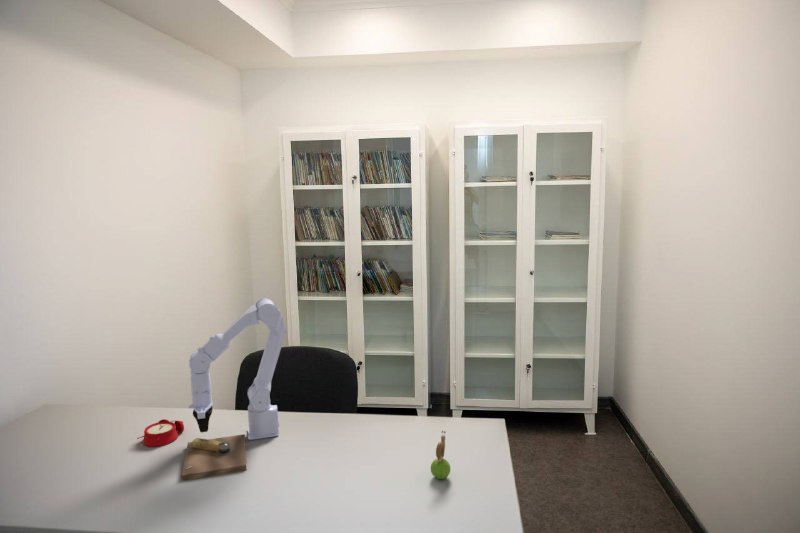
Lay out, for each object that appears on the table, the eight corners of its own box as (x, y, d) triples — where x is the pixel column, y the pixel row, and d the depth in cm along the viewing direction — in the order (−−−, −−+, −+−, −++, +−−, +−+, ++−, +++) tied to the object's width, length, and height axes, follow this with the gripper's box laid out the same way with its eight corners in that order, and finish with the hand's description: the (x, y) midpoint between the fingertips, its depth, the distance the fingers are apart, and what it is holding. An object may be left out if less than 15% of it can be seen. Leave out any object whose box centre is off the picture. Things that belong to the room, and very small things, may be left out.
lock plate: (245, 438, 170) (244, 433, 170) (246, 469, 151) (246, 464, 151) (188, 446, 165) (187, 441, 165) (182, 480, 146) (181, 474, 146)
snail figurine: (453, 472, 148) (453, 431, 146) (447, 484, 142) (447, 442, 140) (434, 469, 150) (434, 429, 148) (428, 481, 144) (428, 439, 142)
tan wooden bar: (232, 449, 159) (231, 442, 159) (225, 454, 156) (225, 447, 156) (198, 443, 163) (198, 437, 163) (191, 448, 160) (190, 441, 160)
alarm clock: (131, 436, 165) (161, 407, 178) (136, 452, 167) (165, 422, 181) (161, 439, 163) (189, 409, 176) (165, 456, 165) (193, 425, 178)
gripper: (189, 383, 170) (192, 423, 172) (185, 400, 157) (188, 443, 159) (212, 380, 172) (215, 420, 174) (210, 397, 159) (213, 440, 161)
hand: (204, 431), depth 167 cm, fingers closed
